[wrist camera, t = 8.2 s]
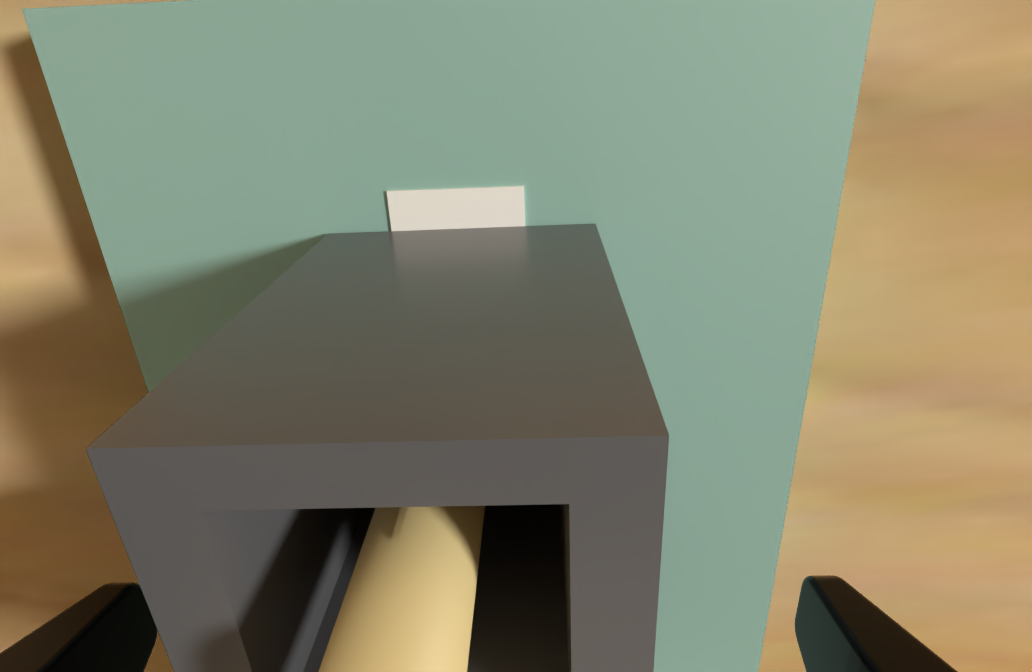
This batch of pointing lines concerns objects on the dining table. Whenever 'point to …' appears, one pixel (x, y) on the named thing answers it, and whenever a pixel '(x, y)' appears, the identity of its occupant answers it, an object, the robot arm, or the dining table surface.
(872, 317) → the dining table surface
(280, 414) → the plug housing
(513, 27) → the header board
